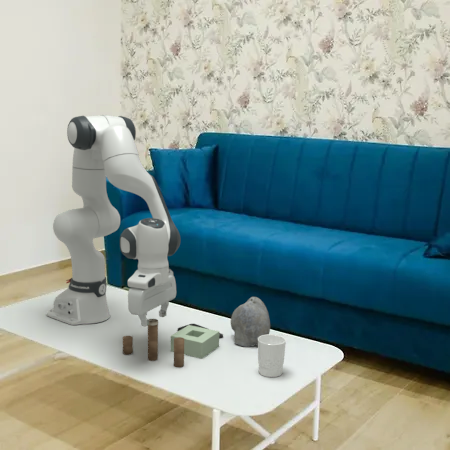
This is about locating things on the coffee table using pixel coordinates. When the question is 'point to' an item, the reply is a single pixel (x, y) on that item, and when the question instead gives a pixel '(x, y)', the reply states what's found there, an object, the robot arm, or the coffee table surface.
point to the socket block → (197, 341)
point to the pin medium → (178, 352)
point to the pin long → (153, 340)
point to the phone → (201, 327)
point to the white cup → (271, 355)
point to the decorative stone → (250, 322)
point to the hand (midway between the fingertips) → (154, 321)
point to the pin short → (127, 345)
